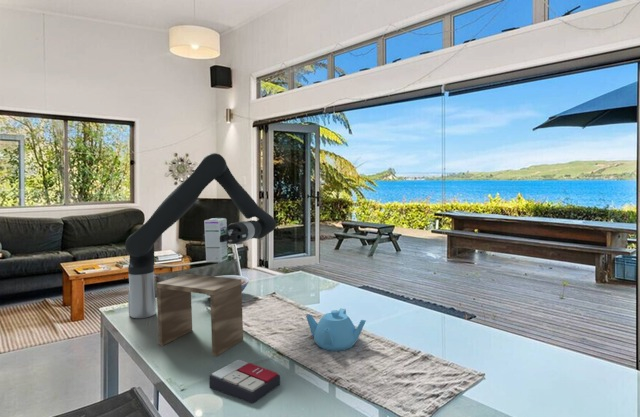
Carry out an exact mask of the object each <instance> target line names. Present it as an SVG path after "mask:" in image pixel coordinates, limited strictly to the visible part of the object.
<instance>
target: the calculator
mask: <svg viewBox="0 0 640 417" xmlns="http://www.w3.org/2000/svg"><path fill="white" fill-rule="evenodd" d="M208 377H209V378H208V380H209V381H208V382H209V389H212V390H214V391H217V392H220V393H224V394H227V395H229V396H231V397H233V398H236V399H238V400H241V401H244V402H246V403H250V404H254V403H256V402H257V401H259V400H260V399H261V398H263V397H265V396H266V395H267V394H269V393H270V392H272V391H273V390H275V389H276V388H277V387H279V386H280V385H281V375H280V374H278V372H275V371H272V370H270V369H267V368H264V367H261V366H259V365H258V364H254V363H251V362H247V361H244V360H241V359H237V360H234V361H232V362H231V363H229V364H227V365H226V366H223V367H222V368H219V369H218V370H216V371H214V372H212V373H211V374H209V376H208Z"/></svg>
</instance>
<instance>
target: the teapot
mask: <svg viewBox="0 0 640 417" xmlns="http://www.w3.org/2000/svg"><path fill="white" fill-rule="evenodd" d="M305 317H306V320H307V323H308V326H309V329H310V332H311V335H312V336H313V340H314V342H315V344H317V345H318V347H319V348H320V349H323V350H327V351H332V352H340V351H345V350H348V349H350V348H352V347H353V346H354V344H356V342H357V341H358V339H359V337H360V335H361V333H362V331H363V329H364V326H365V323H367V322H366V321H367V320H366V319H361V320H360V322H359V323H358V325H357V327H355V324H354V323H353V321H352V320H351V318H350V317H349V316H348V315H347V310H346V308H340V309H337V310H336V309H334V310H331V311H330V312H327V313H325V314H324V315H322V317H321V318H319V321H318V322H317V320H315V317H313V314H306V315H305Z"/></svg>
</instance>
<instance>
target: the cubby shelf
mask: <svg viewBox="0 0 640 417" xmlns="http://www.w3.org/2000/svg"><path fill="white" fill-rule="evenodd" d="M155 284H156V285H155V287H156V301H157V302H156V304H157V322H158V325H157V326H158V343H159V344H158V345H159V346H162V347H163V346H165V345H167V344H169V343H170V342H173V341H175V340H177V339H178V338H181V337H183V336H185V335H187V334H189V333H190V332H193V313H192V312H193V311H192V308H193V307H192V293H193V294H203V295H206V294H208V295H210V296H209V297H210V302H209V303H210V322H211V323H210V327H211V328H210V329H211V351H212V352H211V354H212V357H215V358H216V357H218V356H220V355H222V354H223V353H225V352H226V351H228V350H229V349H231V348H233V347H234V346H236V345H238V344H240V343H241V342H242V341H243V340H244V326H243V325H244V324H243V323H244V321H243V291H242V284H241V279H232V278H223V277H214V276H213V275H202V274H194V273H185V274H181V275H178V276H175V277H171V278H168V279H164V280H161V281H159V282H155ZM208 295H207V296H208Z"/></svg>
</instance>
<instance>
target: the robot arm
mask: <svg viewBox="0 0 640 417" xmlns="http://www.w3.org/2000/svg"><path fill="white" fill-rule="evenodd" d="M214 180H215V181H216V183H218V184H219V185H220V186H221V187H222V188H223V190H224V191H225V192H226V194H227V195H228V196H229V198H230V199H231V200H232V202H233V204H234V205H235V207H236V208H237V209H238V210H239V212H240V213H241V214H242V215H243V217H245V219H247V221H245V220H243V221H238V222H233V223H230V224H228V225H227V234H226V235H221V236H220V242H226V241H227V242H229V243H231V244H233V245H235V244H239V243H243V242H246V241H249V240H251V239H256V240H257V239H258V240H260V239H262V238H264V237H265V236H267V235H269V234H270V233H271V232H273V231H274V230H275V229H276V228H277V222H276V219H275V218H274V217H273V216H272V215H271V214H270V213H268V212H266V210H264V209H263V208H261V207H260V206H259V205H258V204H257V202H255V200H254V199H253V198H252V196H251V195H250V194H249V193H248V191H247V190H246V189H244V187H243V186H242V185H241V184H240V183H239V182H238V181H237V179H236V178H235V176H234V174H232V172H231V170H230V168H229V166H228V164H227V161H226V159H225V157H223V155H221V154H220V153H217V152H212V153H209V154H207V155H205V157H203V159H202V160H201V161H200V163H199V164H198V165H197V167H196V168H195V169H194V171H193V172H192V173H191V174H190V175H189V176H188V177H187V178H186V179H185V180H184V181H182V182H181V183H180V184H179V185H178V186H177V187H176V188H175V189H174V190H173V191H172V192H171V193H170V194H169V195H168V196H167V197H166V198H165V199H164V200H163V201H162V202H161V204H160V205H159V206H158V207H156V209H155V211H154V212H153V213H152V215H151V216H150V217H149V218H148V220H147V221H146V222H145V223H144V224H143V225H141V226H140V227H139V228H138V229H137V230H135V231H134V232H133V233H132V234H130V235H129V236H128V237H127V238H126V240H125V246H124V247H125V250H126V251H125V252H127V253H128V255H129V263H128V267H127V270H128V282H129V283H128V284H129V285H128V286H129V289H128V292H127V301H128V302H127V303H128V316H130V317H131V318H133V319H145V318H149V317H153V316H155V315H156V314H157V308H156V304H157V303H156V285H155V284H156V282H155V243H156V242H157V240H158V239H159V238H160V237H161V235H162V234H163V233H165V232H166V231H168V229H169V228H171V227H172V226H173V225H174V224H175V223H177V222H178V221H179V220H180V219H181V218H182V217H183V216H184V215H185V214H186V213H187V212H188V211H189V210H190V209H191V208H192V206H194V204H195V202H197V200H198V198H199V197H200V195H201V194H202V192H204V190H205V188H206V187H207V186H208V185H209V184H211V183H212V182H213V181H214ZM252 218H257V219H258V220H254V219H253V220H248V219H252ZM202 241H203V242H205V233H204V234H202Z"/></svg>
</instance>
